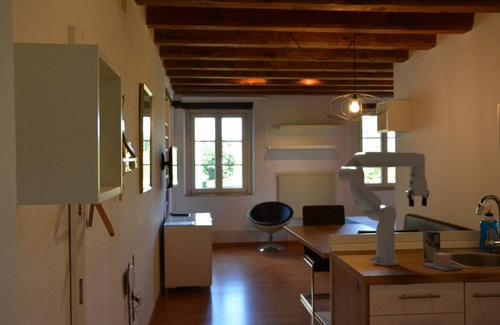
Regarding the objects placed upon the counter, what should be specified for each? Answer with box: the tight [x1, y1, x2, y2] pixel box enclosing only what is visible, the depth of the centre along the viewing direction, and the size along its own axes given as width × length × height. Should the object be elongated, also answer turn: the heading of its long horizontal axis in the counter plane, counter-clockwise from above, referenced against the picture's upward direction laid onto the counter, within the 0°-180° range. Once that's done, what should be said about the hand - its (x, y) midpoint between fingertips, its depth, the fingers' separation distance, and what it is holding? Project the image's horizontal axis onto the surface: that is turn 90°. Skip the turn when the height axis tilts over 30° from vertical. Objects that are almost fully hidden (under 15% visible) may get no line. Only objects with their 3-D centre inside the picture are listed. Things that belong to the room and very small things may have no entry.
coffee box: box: [422, 230, 442, 262], centre depth 244 cm, size 9×6×16 cm
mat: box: [421, 262, 464, 272], centre depth 227 cm, size 14×14×1 cm
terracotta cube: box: [432, 251, 452, 267], centre depth 227 cm, size 6×6×6 cm
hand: (417, 206), depth 244 cm, fingers open, 9 cm apart
